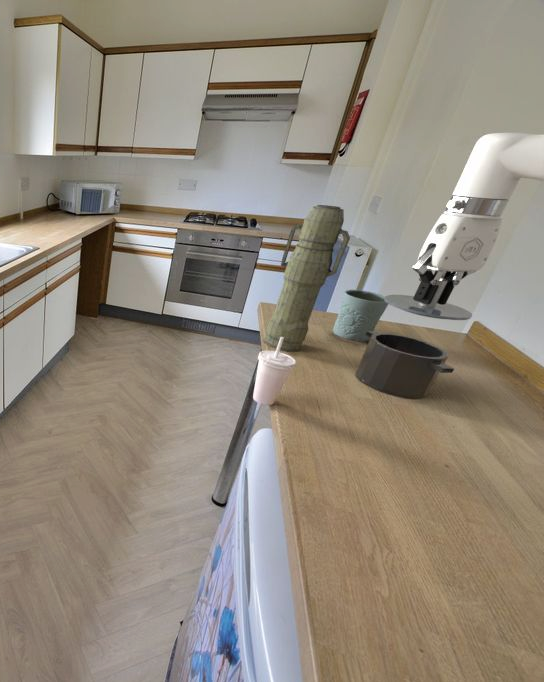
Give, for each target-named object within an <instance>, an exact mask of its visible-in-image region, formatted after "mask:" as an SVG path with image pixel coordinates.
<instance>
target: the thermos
mask: <svg viewBox="0 0 544 682" xmlns="http://www.w3.org/2000/svg"><path fill="white" fill-rule="evenodd" d="M344 220H345V211H344V209H343V208H341V207H340V206H337V205H336V206H335V205H328V204H327V205H326V204H317V205H316V206H312V207H311V209H310V210H309V211H308V213H307V215H306V216H305V218H304V220H303V223H298V224H296V225H295V226H293V227H292V228H291V230H290V232H289V236H288V239H287V242H286V246H285V248H284V251H283V255H282V259H281V262H280V266H281V267H284V274H283V283H282V286H281V290H280V293H279V296H278V298H277V299H278V300H277V302H276V306H275V308H274V312H273V315H272V317H271V318H270V319H269V320H268V323H267V326H266V329H265V335H264V338H263V343H264V344H265V345H266V346H268V347H270V348H272V349H277V346H278V343H279V340H280V337H284V339H283V342H282V345H281V348H280V351H282V352H292V353H295V352H299V351H301V348H302V344H303V343H304V342H305V339H306V337H307V334H308V331H309V321H310V318H311V316H312V313H313V310H314V307H315V304H316V302H317V299H318V296H319V293H320V291H321V288H322V287H323V286H324V285H325V284H326V281H327V278H328V277H331V276H333V275H335V274H336V273H337V272H338V270H339V267H340V264H341V261H342V259H343V256H344V254H345V251H346V249H347V246H348V244H349V242H350V239H351V237H350V234H349V231H347V230H345V229H343V225H344V222H345V221H344ZM297 229H299V230H300V233H299V235H298V242H297V244H296V245H295V248H294V250H293V251H292V253H291V254H290V256H289V255H288V254H289V252H290V248H291V245H292V242H293V239H294V236H295V232H296V231H297ZM340 235H342V238H343V240H342V243H341V245H340V248H339V250H338V253H337V256H336V258H335V262H334V263H333V253H334V247H335V244H336V243H337V241H338V238H339V236H340ZM288 256H289V258H288ZM287 258H288V261H287ZM286 261H287V262H286ZM332 265H333V267H332ZM331 267H332V269H331Z"/></svg>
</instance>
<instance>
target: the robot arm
mask: <svg viewBox="0 0 544 682" xmlns="http://www.w3.org/2000/svg"><path fill="white" fill-rule="evenodd" d="M522 178H523V179H528V180H529V179H530V180H537V181H539V182H544V134H534V133H530V132H529V133H528V132H493V133H487V134H485V135H482V136H481V137H480V138H479V139H478V140H477V141H476V143H474V146H473V149H472V151H471V153H470V154H469V157H468V158H467V162H466V164H465V165H464V168H463V171H462V172H461V175H460V177H459V179H458V181H457V183H456V185H455V187H454V189H453V192H452V193H451V194H452V195H451V196H450V199H449V200H448V202H447V203H446V207H445V209H444V211H443V213H442V214H441V215H440V216H439V218H438V219H437V221H436V222H435V224H434V225H433V227H432V229H431V230H430V232H429V234H428V236H427V237H426V239H425V242H424V243H423V245H422V247H421V249H420V251H419V254H418V257H417V261H416V263H415V264H414V265H413V266H412V270H413V271H414V272H415V273H417V274H418V276H419V278H418V281H419V282H420V283H419V285H418V287H417V289H416V291H415V293H414V295H413V296H414V297H413V300H415V301H418V302H421V303H423V304H430V303H431V302H432V300H433V298H434V296H435V293H436V291H437V289H438V287H439V286H438V285H436V284H437V283H438V281H439V280H440V278H441V279H445V280H448V282H447V284H446V286H445V288H444V290H443V292H442V294H441V296H440V298H439V300H438V302H437V303H438V304H441V305H444V304H446V303H448V300H449V298H450V296H451V294H452V293H453V290H454V288H455V287H456V286H458V285H459V284H460V283H461V280H463V279H464V278H466V277H467V276H470V275H472V274H474V273H476V272H477V271H480V270H481V269H483V268H484V267H485V264H486V262H487V261H488V259H489V257H490V254H491V253H492V250H493V248H494V245H495V244H496V241H497V238H498V235H499V233H500V229H501V225H502V220H503V218H501V216H502V214H503V213H504V211H505V209H506V207H507V205H508V203H509V202H510V199H511V197H512V195H513V193H514V192H515V189H516V188H517V185H518V184H519V181H520V180H521V179H522ZM433 272H434V273H433Z"/></svg>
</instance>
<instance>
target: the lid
mask: <svg viewBox="0 0 544 682" xmlns="http://www.w3.org/2000/svg"><path fill="white" fill-rule="evenodd" d="M447 282H448V280H445V279H441V278H440V280H439V281H438V283H437V284H436V285H438V286H439V287H438V289H437V291H436V293H435V296H434V298H433V300H432V302H431V303H430V304H423V303H421V302H418V301H415V300H413V297H414V295H408V294H388V295H384V296H385V298H384V301H385V302H386V303H388V305H389V306H392V307H394V308H396V309H399V310H401V311H404V312H407V313H410V314H413V315H417V316H422V317H427V318H430V319H431V318H432V319H439V320H449V321H450V320H451V321H468V320H470V319H472V317H473V313H472V312H471V311H469V310H467V309H465V308H464V307H461V306H457V305H455V304H452V303H448V302H446V304H444V305H441V304H438V303H437V302H438V300H439V298H440V296H441V294H442V292H443V290H444V288H445V286H446V284H447Z"/></svg>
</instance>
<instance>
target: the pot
mask: <svg viewBox="0 0 544 682" xmlns="http://www.w3.org/2000/svg"><path fill="white" fill-rule="evenodd" d="M365 335H366V336H368V337H370V339H369V340H368V342H367V345H366V348H365V349H364V351H363V354H362V355H361V358H360V361H359V363H358V365H357V368H356V370H355V373H354V375H355V377H356V378H357V380H358V381H360V382H361V383H362V384H364V385H366V386H368V387H369V388H371V389H374V390H376V391H378V392H382V393H384V394H387V395H391V396H394V397H398V398H403V399H409V400H420V399H424V398H425V397H427V395H429V393H430V391H431V390H432V387H433V385H434V384H435V382H436V381H437V378H438V376H439V374H440V373H441V374H452V373H453V372H454V370H455V367H452V366H450V365H448V364H446V361H447V359H448V358H449V355H448V352H447V351H445V350H444V349H442V348H441V347H439V346H438V345H435V344H432V343H431V342H428V341H425V340H422V339H418V338H415V337H411V336H407V335H402V334H397V333H389V332H388V333H387V332H378V331H376V330H374V331H367V332H366V334H365Z"/></svg>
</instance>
